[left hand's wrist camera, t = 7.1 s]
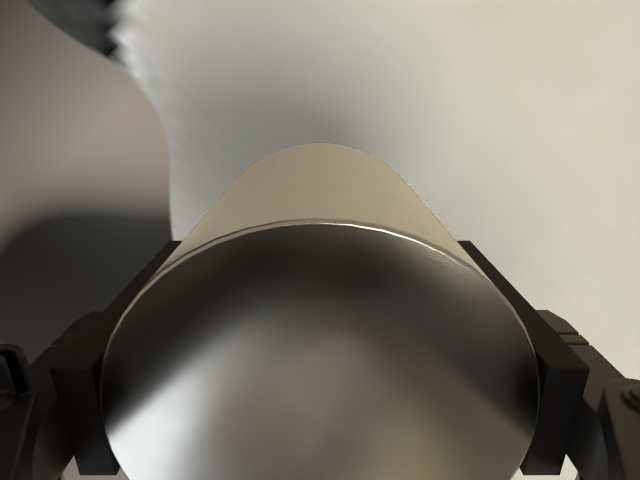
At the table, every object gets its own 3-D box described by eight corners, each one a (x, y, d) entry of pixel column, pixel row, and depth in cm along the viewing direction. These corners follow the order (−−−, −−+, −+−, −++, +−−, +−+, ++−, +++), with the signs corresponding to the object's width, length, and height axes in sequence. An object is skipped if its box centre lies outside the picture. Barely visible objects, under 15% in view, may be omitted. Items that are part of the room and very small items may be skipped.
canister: (420, 341, 18) (507, 565, 9) (223, 344, 18) (140, 570, 9) (436, 140, 15) (586, 214, 6) (199, 144, 15) (45, 224, 6)
